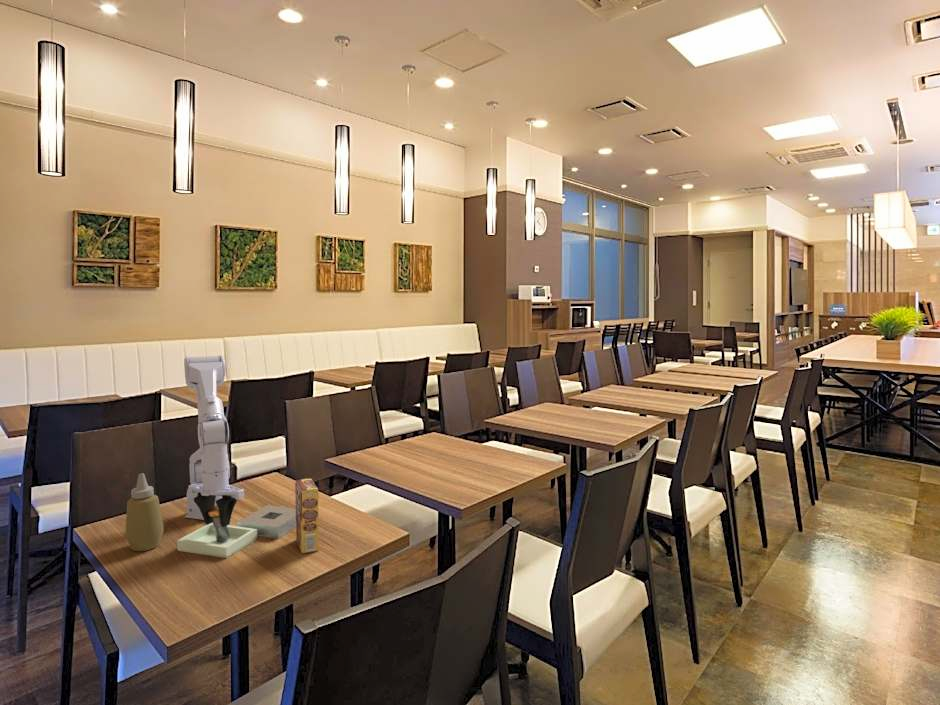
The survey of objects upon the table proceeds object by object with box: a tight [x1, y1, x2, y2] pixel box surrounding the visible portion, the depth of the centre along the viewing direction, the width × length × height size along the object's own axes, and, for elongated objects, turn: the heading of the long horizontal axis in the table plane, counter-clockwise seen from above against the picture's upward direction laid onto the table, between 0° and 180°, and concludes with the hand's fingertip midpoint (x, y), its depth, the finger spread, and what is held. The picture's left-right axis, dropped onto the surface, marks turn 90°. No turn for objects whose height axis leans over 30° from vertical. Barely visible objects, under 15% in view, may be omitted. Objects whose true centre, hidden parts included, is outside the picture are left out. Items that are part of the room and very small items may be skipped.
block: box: [237, 504, 296, 540], centre depth 149 cm, size 12×12×3 cm
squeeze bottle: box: [124, 472, 165, 552], centre depth 136 cm, size 8×8×18 cm
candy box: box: [294, 478, 320, 554], centre depth 137 cm, size 9×4×15 cm, turn 26°
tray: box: [176, 522, 258, 559], centre depth 138 cm, size 14×11×2 cm
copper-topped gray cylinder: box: [208, 506, 230, 542], centre depth 138 cm, size 4×4×8 cm
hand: (217, 524), depth 138 cm, fingers closed on copper-topped gray cylinder, 4 cm apart
